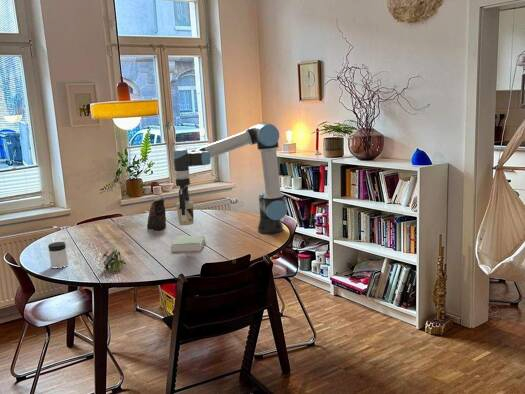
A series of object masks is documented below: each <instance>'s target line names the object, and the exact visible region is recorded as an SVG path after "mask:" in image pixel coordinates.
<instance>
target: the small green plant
mask: <svg viewBox="0 0 525 394" xmlns="http://www.w3.org/2000/svg"><path fill="white" fill-rule="evenodd" d="M108 253H109V251H106V252H105V253H103V255H102V259H104V258H105V257H106V259H105V260H104V261H103V262H102V265H104V267H103V270H104V269H106V270H107V269H109V271H110V273H114V272H116V271H117V270H119V269H120V268H121V267H122V268H124V266H123V265H127V263H126V262H125V259H122V260H121V258H122V257H119V256H121V252H120V250H118V249H115V250H113V251H112V252H110V254H109V255H108ZM113 271H114V272H113Z"/></svg>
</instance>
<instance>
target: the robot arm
mask: <svg viewBox="0 0 525 394" xmlns="http://www.w3.org/2000/svg"><path fill="white" fill-rule="evenodd" d="M279 140H280V132H279V129H278V128H277V127H276V126H275V125H274V124H272V123H266V122H260V123H257V124H256V125H253V126H251V127H248V128H246V129H245V130H244V131H243V132H239V133H237V134H235V135H232V136H229V137H227V138H224V139H221V140H218V141H215V142H212V143H210V144H207V145H204V146H202V147H200V148H193V149H192V150H191V152H189V151H188V150H187V149H185V148H180V149H179V148H177V149H175V150H173V154H172V155H173V165H174V166H173V167H174V172H173V174H174V175H175V176H174V177H175V186H177V187H179V189H178V197H179V201H178V202H180V208H179V209H181V218H182V221H187V215H186V209H185V201H191V200H190V195H189V194H190V193H189V186H190V185H191V181H190V168H189V167H199V166H204V167H205V166H208V165H210V164H211V159H213V158H215V157H219V156H220V155H223V154H226V153H229V152H232V151H235V150H237V149H239V148H242V147H245V146H247V145H250V146H253V145H256V144H257V145H256V146H257V150H258V151H259V152H260V155H261V166H262V173H263V182H264V184H263V185H264V190H265V191H264V193H260V194H259V195H258V205H259V220H258V225H257V232H258V233H260V234H265V235H268V234H269V235H270V234H271V235H272V234H278V233H281V232H283V230H284V227H283V223H282V221H281V220H282V219H283V218H284V217H286V214H287V213H288V207H287V204H286V203H285V195H284V193H283V192H281V184H280V174H279V165H278V156H277V150H278V148H279ZM182 206H183V207H182Z"/></svg>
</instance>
